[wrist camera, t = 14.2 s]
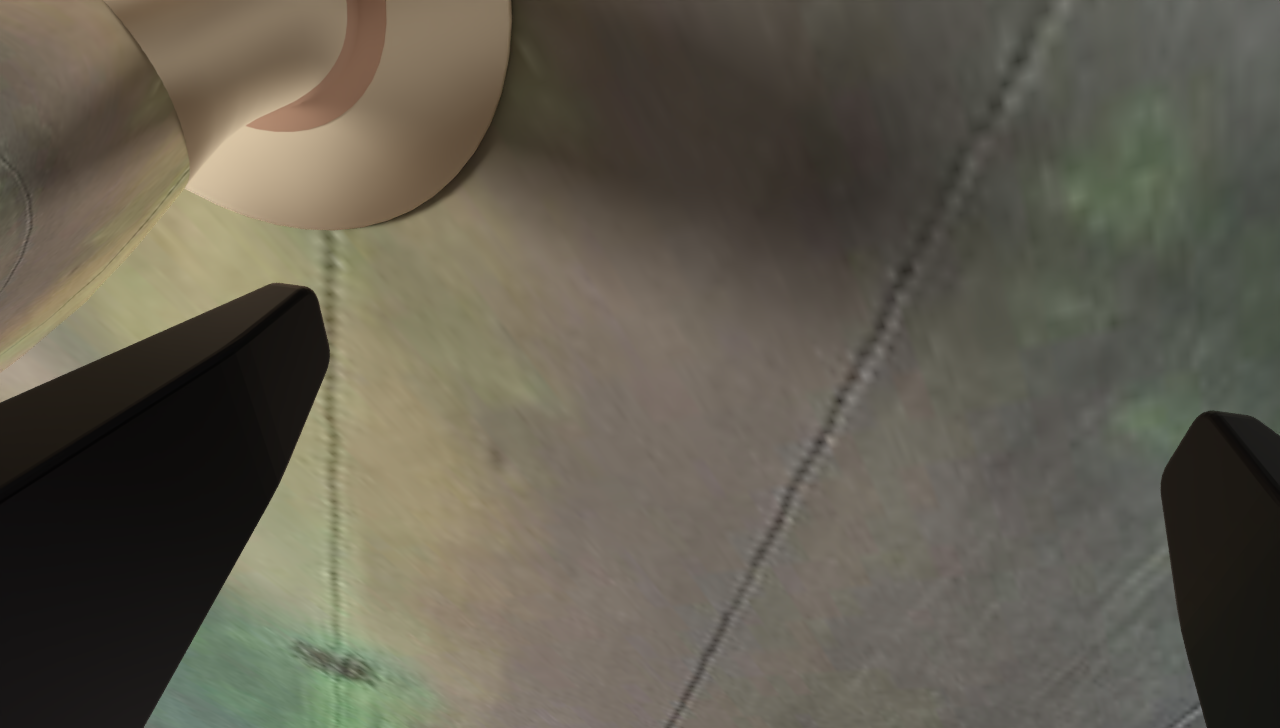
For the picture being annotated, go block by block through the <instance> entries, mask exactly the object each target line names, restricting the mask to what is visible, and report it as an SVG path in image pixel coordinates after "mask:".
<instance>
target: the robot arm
mask: <svg viewBox="0 0 1280 728" xmlns="http://www.w3.org/2000/svg"><path fill="white" fill-rule="evenodd" d="M329 358H330V349H329V343H328V339H327V335H326V331H325V327H324V322H323V318H322V314H321V310H320V306H319V301H318V299H317V296H316V294H315V293H314V291H313V290H311V289H310V288H308V287H305V286H298V285H291V284H284V283H272V284H269V285H267V286H264V287H262V288H260V289H257V290H255V291H253V292H251V293H248V294H246V295H244V296H242V297H239V298H237V299H235V300H232V301H230V302H228V303H226V304H223V305H221V306H219V307H217V308H214V309H212V310H210V311H208V312H205V313H203V314H201V315H198V316H196V317H194V318H192V319H189V320H187V321H185V322H183V323H180V324H178V325H176V326H173V327H171V328H169V329H167V330H164V331H162V332H160V333H158V334H155V335H153V336H151V337H148V338H146V339H144V340H142V341H139V342H137V343H135V344H133V345H130V346H128V347H126V348H124V349H121V350H119V351H117V352H114V353H112V354H110V355H108V356H105V357H103V358H101V359H99V360H96V361H94V362H92V363H89V364H87V365H85V366H83V367H80V368H78V369H76V370H74V371H71V372H69V373H67V374H65V375H62V376H60V377H58V378H55V379H53V380H51V381H49V382H46V383H44V384H42V385H40V386H37V387H35V388H33V389H30V390H28V391H26V392H24V393H21V394H19V395H17V396H15V397H12V398H10V399H8V400H5V401H3V402H1V403H0V728H144V726H145V724H146V723H147V721H148V719H149V717H150V715H151V714H152V712H153V710H154V708H155V706H156V705H157V703H158V701H159V699H160V697H161V696H162V694H163V692H164V690H165V688H166V687H167V685H168V683H169V681H170V680H171V678H172V676H173V674H174V672H175V671H176V669H177V667H178V665H179V663H180V662H181V660H182V658H183V656H184V654H185V653H186V651H187V649H188V647H189V646H190V644H191V642H192V640H193V638H194V637H195V635H196V633H197V631H198V629H199V628H200V626H201V624H202V622H203V620H204V619H205V617H206V615H207V613H208V612H209V610H210V608H211V606H212V604H213V603H214V601H215V599H216V597H217V595H218V594H219V592H220V590H221V588H222V586H223V585H224V583H225V581H226V579H227V577H228V576H229V574H230V572H231V570H232V569H233V567H234V565H235V563H236V561H237V560H238V558H239V556H240V554H241V552H242V551H243V549H244V547H245V545H246V543H247V542H248V540H249V538H250V536H251V535H252V533H253V531H254V529H255V527H256V526H257V524H258V522H259V520H260V518H261V517H262V515H263V513H264V511H265V509H266V508H267V506H268V504H269V502H270V500H271V498H272V497H273V495H274V493H275V491H276V489H277V487H278V485H279V483H280V481H281V479H282V476H283V474H284V472H285V470H286V468H287V465H288V463H289V461H290V458H291V456H292V453H293V451H294V449H295V446H296V444H297V441H298V439H299V436H300V434H301V432H302V429H303V427H304V424H305V422H306V420H307V417H308V415H309V412H310V410H311V408H312V405H313V403H314V400H315V398H316V395H317V393H318V391H319V388H320V386H321V383H322V381H323V379H324V376H325V374H326V371H327V368H328V364H329ZM1161 498H1162V505H1163V512H1164V519H1165V526H1166V533H1167V540H1168V547H1169V554H1170V561H1171V569H1172V576H1173V583H1174V590H1175V597H1176V604H1177V610H1178V616H1179V621H1180V627H1181V632H1182V636H1183V640H1184V644H1185V648H1186V652H1187V656H1188V660H1189V664H1190V667H1191V671H1192V675H1193V678H1194V682H1195V686H1196V689H1197V693H1198V697H1199V700H1200V704H1201V708H1202V712H1203V715H1204V719H1205V723H1206V726H1207V728H1280V436H1279V435H1278V434H1277V433H1275V432H1274V431H1273V430H1271V429H1270V428H1268V427H1267V426H1266V425H1264V424H1263V423H1262V422H1260V421H1259V420H1257V419H1256V418H1254V417H1251V416H1248V415H1242V414H1235V413H1227V412H1220V411H1207V412H1204V413H1202V414H1201V415H1199V416H1198V417H1197V418H1196V419H1195V421H1194V422H1193V423H1192V425H1191V427H1190V428H1189V430H1188V431H1187V433H1186V435H1185V436H1184V438H1183V439H1182V441H1181V443H1180V444H1179V446H1178V448H1177V449H1176V451H1175V452H1174V454H1173V456H1172V457H1171V459H1170V460H1169V462H1168V464H1167V465H1166V467H1165V469H1164V472H1163V475H1162V479H1161Z"/></svg>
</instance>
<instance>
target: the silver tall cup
mask: <svg viewBox="0 0 1280 728" xmlns="http://www.w3.org/2000/svg"><path fill="white" fill-rule="evenodd" d="M358 25H359V3H358V0H0V373H1V372H2V371H4V370H5V369H6V368H8V367H9V366H10V365H12V364H13V363H14V362H16V361H17V360H18V359H20V358H21V357H22V356H24V355H25V354H26V353H27V352H28V351H30V350H31V349H32V348H33V347H34V346H35V345H36V344H38V343H39V342H40V341H41V340H42V339H43V338H45V337H46V336H47V335H48V334H49V333H50V332H52V331H53V330H54V329H55V328H56V327H57V326H59V325H60V324H61V323H62V322H63V321H64V320H66V319H67V318H68V317H69V316H70V315H71V314H73V313H74V312H75V311H76V310H77V309H78V308H80V307H81V306H82V305H83V304H84V303H85V302H86V301H87V300H88V299H89V298H90V297H91V296H92V295H93V294H94V293H95V292H96V290H97V289H98V288H99V287H100V286H101V285H102V284H103V283H104V282H105V281H106V280H107V279H108V278H109V277H110V276H111V274H112V273H113V272H114V271H115V270H116V269H117V268H118V267H119V266H120V265H121V264H122V263H123V262H124V261H125V260H126V259H127V257H128V256H129V255H130V254H131V253H132V252H133V251H134V250H135V248H136V247H137V246H138V245H139V244H140V242H141V241H142V240H143V239H144V237H145V236H146V235H147V234H148V233H149V231H150V230H151V229H152V228H153V227H154V225H155V224H156V223H157V222H158V221H159V219H160V218H161V217H162V216H163V214H164V213H165V212H166V211H167V210H168V208H169V207H170V206H171V205H172V203H173V202H174V201H175V200H176V198H177V197H178V196H179V195H180V193H181V192H182V191H183V190H184V188H185V187H186V186H187V185H188V183H189V182H190V181H191V179H192V178H193V177H194V176H195V174H196V173H197V172H198V171H199V169H200V168H201V167H202V166H203V165H204V164H205V163H206V161H207V160H208V159H209V158H210V157H211V156H212V155H213V153H214V152H215V151H216V150H217V149H218V148H219V146H220V145H221V144H223V143H224V142H225V141H226V140H227V139H228V138H230V137H231V136H232V135H233V134H234V133H235V132H237V131H238V130H239V129H241V128H243V127H244V126H246V125H247V124H249V123H251V122H253V121H255V120H257V119H260V118H262V117H265V116H268V115H271V114H274V113H276V112H279V111H282V110H285V109H288V108H291V107H293V106H296V105H299V104H301V103H304V102H306V101H308V100H310V99H312V98H314V97H316V96H317V95H319V94H321V93H322V92H324V91H325V90H326V89H328V88H329V87H330V86H331V85H332V84H333V83H334V82H335V81H336V80H337V79H338V78H339V76H340V75H341V74H342V72H343V71H344V69H345V67H346V65H347V64H348V62H349V60H350V58H351V55H352V53H353V50H354V47H355V43H356V39H357V33H358Z"/></svg>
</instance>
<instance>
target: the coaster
mask: <svg viewBox="0 0 1280 728" xmlns="http://www.w3.org/2000/svg"><path fill="white" fill-rule="evenodd" d="M358 3H359V25H358V33H357V39H356V43H355V47H354V50H353V53H352V55H351V58H350V60H349V62H348V64H347V65H346V67H345V69H344V71H343V72H342V74H341V75H340V76H339V78H338V79H337V80H336V81H335V82H334V83H333V84H332V85H331V86H330V87H329V88H328V89H326V90H325V91H324V92H322V93H321V94H319V95H317V96H316V97H314V98H312V99H310V100H308V101H306V102H304V103H301V104H299V105H296V106H293V107H291V108H288V109H285V110H282V111H279V112H276V113H274V114H271V115H268V116H265V117H262V118H260V119H257V120H255V121H253V122H251V123H249V124H247V125H246V126H244V127H243V128H241V129H239V130H238V131H237V132H235V133H234V134H233V135H232V136H231V137H230V138H228V139H227V140H226V141H225V142H224V143H223V144H221V145H220V146H219V148H218V149H217V150H216V151H215V152H214V153H213V155H212V156H211V157H210V158H209V159H208V160H207V161H206V163H205V164H204V165H203V166H202V167H201V168H200V169H199V171H198V172H197V173H196V174H195V176H194V177H193V178H192V179H191V181H190V182H189V183H188V185H187V186H186V187H185V189H187V190H188V191H190V192H192V193H194V194H196V195H198V196H200V197H202V198H204V199H206V200H208V201H210V202H212V203H214V204H216V205H219V206H221V207H224V208H226V209H229V210H231V211H234V212H237V213H239V214H242V215H244V216H247V217H250V218H254V219H258V220H261V221H265V222H269V223H272V224H276V225H282V226H288V227H294V228H301V229H312V230H341V229H351V228H361V227H365V226H369V225H373V224H377V223H381V222H385V221H388V220H390V219H393V218H395V217H397V216H400V215H402V214H404V213H407V212H409V211H411V210H413V209H415V208H416V207H418V206H419V205H421V204H422V203H424V202H426V201H427V200H429V199H430V198H432V197H433V196H435V195H436V194H437V193H438V192H439V191H440V190H441V189H442V188H444V187H445V186H446V185H447V184H448V183H449V182H450V181H451V180H452V179H453V178H454V177H455V176H456V175H457V174H458V173H459V172H460V170H461V169H462V168H463V166H464V165H465V164H466V163H467V161H468V160H469V159H470V158H471V156H472V155H473V154H474V152H475V151H476V150H477V148H478V146H479V144H480V143H481V141H482V139H483V137H484V135H485V133H486V132H487V130H488V128H489V126H490V124H491V122H492V119H493V117H494V114H495V111H496V108H497V106H498V103H499V100H500V97H501V95H502V91H503V86H504V82H505V77H506V72H507V67H508V62H509V57H510V43H511V29H512V8H511V0H358Z"/></svg>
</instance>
